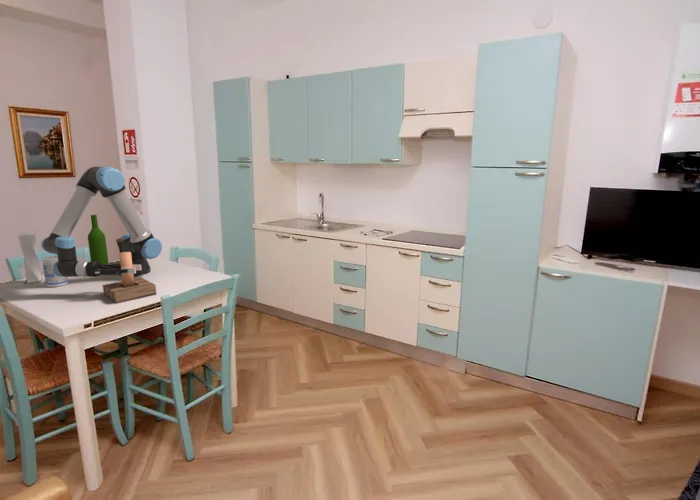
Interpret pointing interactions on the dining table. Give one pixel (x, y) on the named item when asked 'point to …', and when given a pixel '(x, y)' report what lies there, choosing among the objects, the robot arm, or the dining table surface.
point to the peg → (126, 263)
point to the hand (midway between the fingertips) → (138, 269)
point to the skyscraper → (30, 257)
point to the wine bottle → (97, 243)
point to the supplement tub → (52, 273)
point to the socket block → (129, 290)
